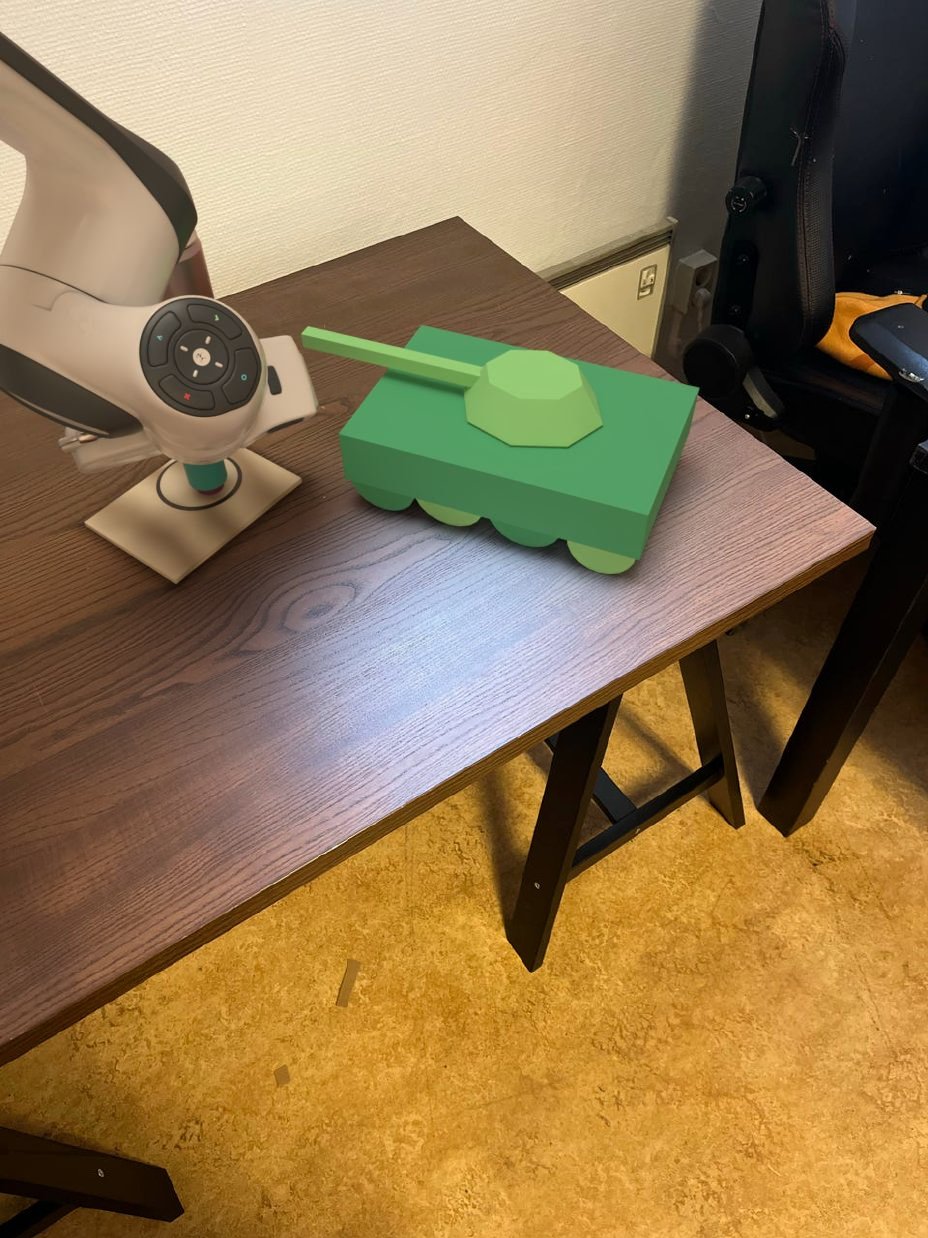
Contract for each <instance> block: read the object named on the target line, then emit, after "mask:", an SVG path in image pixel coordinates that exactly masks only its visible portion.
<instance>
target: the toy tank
mask: <svg viewBox="0 0 928 1238" xmlns="http://www.w3.org/2000/svg"><path fill="white" fill-rule="evenodd" d="M300 336H301V337H300V338H301V342H302V347H303V348H305V349H310V350H314V351H318V352H322V353H327V354H329V355H330V354H331V355H334V356H335V355H336V356H340V357H343V358H348V359H351V360H356V361H360V362H363V363H367V364H372V365H376V366H380V367H385V368H387V370H386V371H385V372H384V374H383V375H382V376H381V378H380V379H379V380H378V381H377V383H376V384H375V386H374V387H373V388H372V389H371V391H369V393H368V395H367V396H366V397H365V398H364V400H363V402H361V404H360V405H359V406H358V407H357V409H356V410H355V411H354V413H353V415H352V416H351V417H350V418H349V420H348V421H347V422H346V423H345V425H344V426H343V427H342V429H341V430H340V431H339V432H338V439H339V447H340V453H341V461H342V469H343V475H344V480H347V481H351V484H352V485H353V486H354V488H355V490H356V491H357V492H358V494H360V496H362V497H363V499H364V500H366V501H368V502H370V503H371V504H372V505H374V506H376V507H378V508H381V509H383V510H387V511H392V512H394V511H395V512H397V511H402V510H403V511H404V510H405V509H408V507H410V506H411V504H412V503H413V501H414V500H416V501H417V503H418V505H419V507H421V508H422V509H423V510H424V511H425V512H426V513H427V514H428V515H430V516H431V517H433V519H436V520H437V521H439V522H441V523H444V524H446V525H449V526H456V527H466V526H471V525H473V524H475V523H477V522H478V521H480V519H481V518H485V519H489V520H490V522H491V524H492V525H493V527H494V528H495V529H496V530H497V531H498V532H499V533H500V534H501V535H502V536H503V537H505V538H507V539H508V540H510V541H511V542H514V543H516V544H519V545H521V546H525V547H529V548H540V547H541V548H542V547H546V546H549V545H552V544H554V543H555V542H556V541H557V540H558V539H561V540H563V541H564V540H565V541H566V542H567V544H566V545H567V547H568V549H569V551H570V554H571V555H572V556H573V558H575V559H576V561H577V562H578V563H579V564H581V565H582V566H584V567H585V568H587V569H589V570H592V571H594V572H596V573H599V574H606V575H613V574H614V575H615V574H621V573H623V572H625V571H627V570H629V569H630V568H631V567H632V566H633V565H634V564H635V562H636V560H637V561H641V557H642V556H643V552H644V550H645V547H646V545H647V542H648V539H649V538H650V534H651V533H652V529H653V527H654V525H655V522H656V520H657V516H658V514H659V511H660V510H661V507H662V504H663V501H664V499H665V496H666V494H667V491H668V489H669V486H670V483H671V481H672V479H673V476H674V474H675V471H676V469H677V467H678V463H679V461H680V458H681V455H682V453H683V450H684V448H685V446H686V443H687V440H688V437H689V435H690V431H691V428H692V424H693V423H692V422H693V419H694V414H695V409H696V405H697V402H698V397H699V392H700V387H699V386H698V387H697V386H693V385H689V384H684V383H679V382H675V381H671V380H667V379H662V378H657V377H654V376H650V375H646V374H645V375H644V374H640V373H636V372H631V371H626V370H623V369H618V368H614V367H609V366H604V365H600V364H596V363H593V362H587V361H583V360H579V359H573V358H570V357H565V356H562V355H558V354H556V353H554V352H551V351H549V350H537V349H530V348H526V347H521V346H516V345H512V344H508V343H503V342H500V341H499V342H498V341H494V340H490V339H487V338H481V337H476V336H472V335H469V334H468V335H467V334H463V333H459V332H455V331H450V330H446V329H442V328H438V327H437V328H436V327H432V326H429V325H423V324H421V325H420V326H419V328H418V329H417V330H416V332H415V333H414V335H413V336H412V337H411V338H410V339H409V341H408V342H407V343H406V345H405V346H404V347H399V346H394V345H391V344H386V343H382V342H377V341H375V340H374V341H373V340H369V339H364V338H361V337H356V336H352V335H348V334H344V333H339V332H335V331H331V330H326V329H322V328H319V327H314V326H309V325H308V326H307V327H306V328H305V329H304V330H303V331H302V332H301V333H300Z"/></svg>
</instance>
